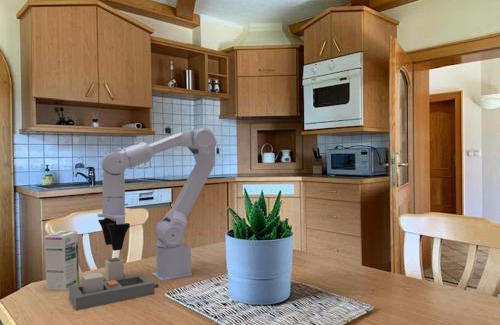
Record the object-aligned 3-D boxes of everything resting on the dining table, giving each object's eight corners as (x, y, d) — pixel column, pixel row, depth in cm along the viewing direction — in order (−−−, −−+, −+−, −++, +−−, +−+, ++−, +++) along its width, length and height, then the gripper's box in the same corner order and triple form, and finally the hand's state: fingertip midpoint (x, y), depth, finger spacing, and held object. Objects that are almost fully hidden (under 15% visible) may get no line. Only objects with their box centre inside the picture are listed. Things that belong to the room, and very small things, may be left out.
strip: (151, 283, 105) (151, 261, 105) (163, 292, 98) (163, 269, 97) (69, 299, 94) (69, 274, 94) (76, 311, 86) (75, 284, 86)
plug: (119, 279, 108) (119, 256, 108) (123, 283, 104) (123, 259, 104) (104, 281, 105) (104, 258, 105) (108, 286, 102) (108, 261, 102)
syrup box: (65, 291, 99) (64, 235, 99) (45, 290, 100) (44, 234, 100) (79, 284, 105) (78, 230, 104) (60, 283, 106) (59, 230, 106)
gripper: (92, 195, 108) (92, 243, 108) (104, 200, 96) (104, 254, 96) (118, 194, 112) (117, 241, 112) (133, 198, 100) (132, 251, 100)
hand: (113, 247), depth 105 cm, fingers open, 7 cm apart
